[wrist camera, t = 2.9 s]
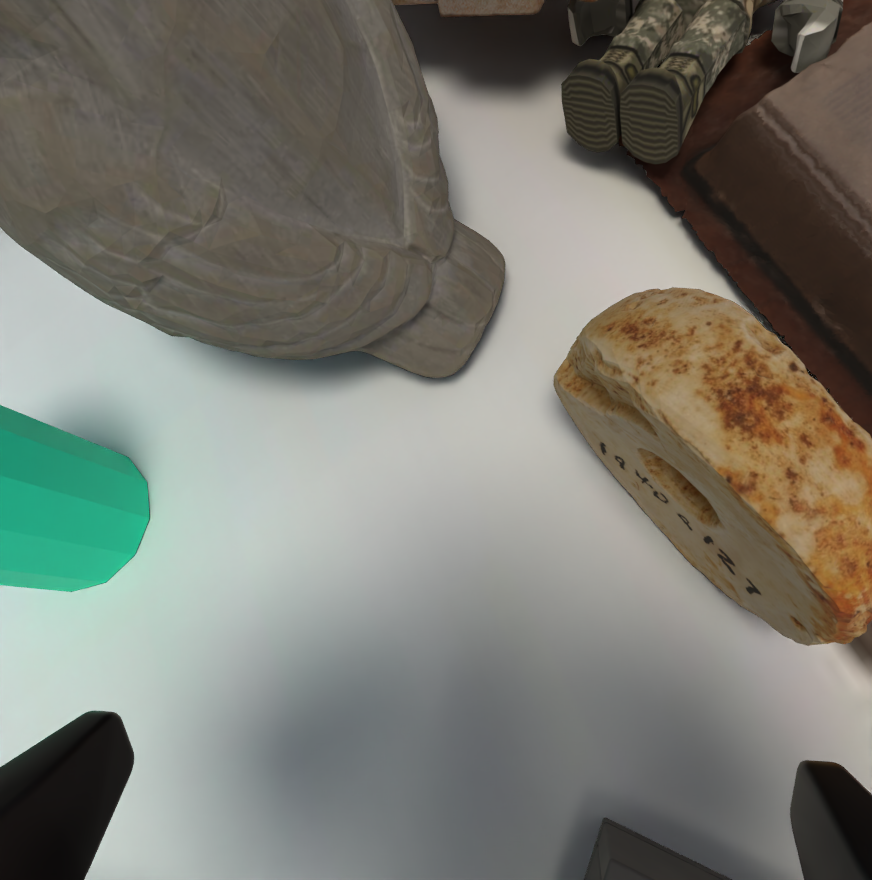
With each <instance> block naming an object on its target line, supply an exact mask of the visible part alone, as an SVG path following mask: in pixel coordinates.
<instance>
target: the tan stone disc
mask: <svg viewBox="0 0 872 880" xmlns="http://www.w3.org/2000/svg"><path fill="white" fill-rule="evenodd" d="M554 387H555V390H556V393H557V395H558V396H559V398H560V400H561V402H562V404H563V405H564V407H565V409H566V410H567V412H568V413H569V415H570V416H571V418H572V420H573V421H574V423H575V424H576V426H577V427H578V429H579V430H580V432H581V433H582V435H583V436H584V438H585V439H586V440H587V442H588V443H589V445H590V446H591V448H592V449H593V450H594V452H595V453H596V454H597V456H598V457H599V458H600V460H601V461H602V462H603V463H604V464H605V466H606V467H607V468H608V469H609V470H610V472H611V473H612V474H613V475H614V477H615V478H616V479H617V480H618V481H619V483H620V484H621V485H622V486H623V487H624V488H625V489H626V490H627V491H628V492H629V493H630V494H631V495H632V497H633V498H634V499H635V501H636V502H637V503H638V505H639V506H640V507H641V508H642V510H643V511H644V512H645V513H646V514H647V515H648V516H649V517H650V519H651V520H652V521H653V522H654V523H655V524H656V525H657V526H658V527H659V528H660V530H661V531H662V532H663V533H664V534H665V535H666V536H667V537H668V538H669V539H670V540H671V541H672V543H673V544H674V545H675V547H676V548H677V549H678V550H679V551H680V552H681V553H682V554H683V556H684V557H685V558H686V559H687V560H688V561H689V562H690V563H691V564H692V565H693V566H694V567H695V568H696V569H698V570H699V571H701V572H702V573H703V574H704V575H705V576H706V577H707V578H708V579H709V580H710V581H711V582H712V583H713V584H714V585H715V586H717V587H718V588H719V589H720V590H721V591H722V592H724V593H725V594H726V595H727V596H728V597H730V598H731V599H733V600H735V601H736V602H737V603H738V604H739V605H740V606H741V607H743V608H745V609H746V610H748V611H750V612H752V613H754V614H755V615H757V616H758V617H760V618H762V619H763V620H764V621H766V622H767V623H768V624H769V625H770V626H771V627H772V628H774V629H775V630H776V631H778V632H779V633H780V634H782V635H783V636H785V637H787V638H790V639H792V640H794V641H795V642H796V643H800V644H804V645H808V646H809V645H816V644H829V643H831V642H837V643H841V644H846V643H849V642H852V640H853V639H854V637H859V636H860V635H862V634H863V633H865V632H866V631H867V624H868V623H870V621H871V620H872V438H871V436H870V434H869V433H868V432H866V431H865V430H864V429H863V428H862V427H861V426H860V425H858V424H856V423H855V422H853V420H852V419H851V418H850V417H849V416H848V415H847V414H846V413H845V412H844V411H843V410H842V408H841V407H840V406H839V405H838V404H837V403H836V402H835V400H834V399H833V398H832V397H831V395H830V394H829V393H828V392H827V391H826V389H825V388H824V387H823V386H822V384H821V383H820V382H818V381H817V380H815V379H814V378H813V377H811V376H810V375H809V374H808V372H807V370H806V368H805V365H804V364H803V363H802V362H801V361H800V359H799V358H798V357H797V356H796V355H795V354H794V353H793V352H792V351H791V349H790V348H788V347H787V346H785V345H784V344H782V342H781V341H780V340H779V338H778V337H777V336H776V334H774V333H772V332H770V331H768V330H766V329H765V328H764V327H763V326H762V325H761V323H760V322H759V321H758V320H757V319H756V318H755V317H754V316H753V315H751V314H750V313H749V312H747V311H746V310H745V309H744V308H742V307H741V306H739V305H738V304H736V303H735V302H733V301H730V300H727V299H724V298H722V297H720V296H718V295H714V294H711V293H708V292H705V291H703V290H700V289H687V288H674V287H672V288H670V289H666V290H660V289H651V290H646V291H644V292H640V293H634V294H632V295H630V296H628V297H626V298H624V299H622V300H621V301H619V302H617V303H616V304H614V305H612V306H611V307H609V308H608V309H606V310H605V311H603V312H602V313H600V314H599V315H598V316H596V317H595V318H593V319H592V320H591V321H590V322H589V323H588V324H587V325H586V326H585V327H584V328H583V330H582V332H581V333H580V335H579V336H578V337H577V340H576V341H575V343H574V344H573V345H572V347H571V350H570V351H569V353H568V355H567V358H566V359H565V360H564V362H563V363H562V365H561V366H560V367H559V369H558V370H557V372H556V374H555V375H554Z"/></svg>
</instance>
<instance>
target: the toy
mask: <svg viewBox="0 0 872 880" xmlns="http://www.w3.org/2000/svg"><path fill="white" fill-rule="evenodd" d="M775 1H777V0H599V1H595V2H582V1H578V0H570V1H569V4H568V15H569V25H570V31H571V37H572V42H573V43H575V44H576V45H578V46H581V45H583V44H584V43H585V42H586V40H587V39H588V38H589V37H591V36H597V35H603V34H605V35H609V36H615V37H614V38H613V40H612V42H611V44H610V46H609V47H608V49H607V51H606V53H605V54H604V56H603V57H602V58H601V59H600V60H595V59H588V60H585V61H582V62H579V63H578V65H577V66H576V67H575V68H574V70H573V71H572V72H571V73H570V75H569V76H568V77H567V78H566V79H565V81H564V82H563V83H562V84H561V85H562V104H563V110H564V116H565V122H566V128H567V133H568V134H569V135H570V136H571V137H572V138H573V139H574V140H575V141H576V142H577V143H578V144H579V145H581V146H582V147H584V148H586V149H588V150H591V151H595V152H602V151H608V150H609V149H611V148H612V147H613V146H614V145H615V144H616V143H617V142H618V140H619V138H620V136H621V134H622V143H623V145H624V146H625V147H626V148H627V149H628V150H629V151H630V152H631V154H632V155H633V156H635V157H637V158H639V159H640V160H642V161H644V162H647V163H652V164H660V163H666V162H667V161H669V160H670V159H672V158H673V157H675V156H676V155H678V152H679V150H680V148H681V146H682V144H683V142H684V139H685V137H686V135H687V133H688V131H689V129H690V126H691V124H692V122H693V120H694V118H695V116H696V114H697V112H698V109H699V107H700V105H701V103H702V101H703V99H704V96H705V94H706V93H707V92H708V90H709V89H710V88H711V86H712V85H713V83H714V81H715V79H716V77H717V75H718V74H719V73H720V71H721V70H722V69H723V68H724V66H725V65H726V64H727V63H728V61H729V60H730V59H731V58H732V56H733V55H735V54H739V53H742V52H743V50H744V48H745V46H746V44H747V43H748V39H749V36H750V32H751V27H752V16H753V13H754V12H755V11H756V10H757V9H758V8H759V7H762V6H764V5H767V4H770V3H772V2H775ZM842 11H843V0H784V1H783V2H782V3H781V4H780V5H779V7H778V8H777V9H776V10H775V18H774V25H773V33H772V40H771V41H772V42H773V44H774V45H775V46H776V48H777V49H778V51H780V52H782V53H784V54H787V55H789V56H794V58H793V61H792V65H791V70H792V71H793V72H795V73H799V72H801V71H803V70H805V69H806V68H807V67H808V66H809V65H811V64H813V63H816V62H819V61H821V60H823V59H825V58H827V55H828V53H829V50H830V47H831V45H832V44H833V43H834V42H836V38H837V34H838V29H839V25H840V20H841V15H842ZM616 35H617V36H616ZM666 55H667V56H666ZM665 56H666V57H665ZM664 58H665V59H664ZM663 59H664V61H663V63H662V64H661V66H660V67H659V68H656V67H657V66H658V65H659V64H660V62H661V61H662V60H663Z"/></svg>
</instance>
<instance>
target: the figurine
mask: <svg viewBox="0 0 872 880" xmlns="http://www.w3.org/2000/svg"><path fill="white" fill-rule="evenodd" d="M438 132H439V131H438V122H437V116H436V113H435V110H434V107H433V103H432V100H431V98H430V96H429V94H428V91H427V88H426V85H425V82H424V79H423V76H422V73H421V70H420V67H419V63H418V60H417V57H416V54H415V50H414V46H413V44H412V41H411V39H410V37H409V35H408V33H407V31H406V29H405V27H404V25H403V23H402V21H401V19H400V17H399V15H398V12H397V10H396V8H395V6H394V4H393V2H392V0H0V227H1V228H2V229H3V230H4V231H5V233H6V234H7V235H9V236H10V237H11V238H12V239H13V240H14V241H16V242H17V243H18V244H19V245H20V246H21V247H23V248H24V249H26V250H27V251H28V252H30V253H31V254H33V255H34V256H35V257H37V258H38V259H40V260H41V261H42V262H44V263H45V264H47V265H48V266H49V267H51V268H52V269H54V270H55V271H56V272H58V273H59V274H61V275H62V276H63V277H65V278H66V279H68V280H69V281H71V282H72V283H74V284H75V285H77V286H78V287H80V288H81V289H83V290H84V291H86V292H87V293H89V294H91V295H92V296H94V297H95V298H97V299H99V300H100V301H102V302H104V303H105V304H107V305H110V306H112V307H114V308H116V309H118V310H120V311H122V312H124V313H127V314H129V315H131V316H133V317H135V318H137V319H139V320H142V321H144V322H146V323H148V324H150V325H151V326H153V327H155V328H157V329H159V330H161V331H163V332H165V333H167V334H169V335H171V336H178V337H190V338H192V339H195V340H197V341H200V342H202V343H205V344H209V345H213V346H216V347H220V348H224V349H227V350H231V351H238V352H242V353H246V354H249V355H253V356H256V357H266V358H278V359H289V360H303V359H317V358H322V357H327V356H331V355H336V354H341V353H345V352H349V351H362V352H365V353H368V354H371V355H373V356H375V357H378V358H380V359H382V360H384V361H387V362H389V363H391V364H394V365H396V366H398V367H401V368H403V369H405V370H408V371H410V372H412V373H415V374H418V375H422V376H425V377H431V378H440V377H447V376H450V375H453V374H454V373H456V372H457V371H458V370H459V369H460V368H461V367H462V366H463V365H464V364H465V363H466V362H467V360H468V359H469V357H470V355H471V353H472V352H473V350H474V348H475V347H476V345H477V344H478V342H479V341H480V339H481V336H482V333H483V331H484V328H485V327H486V325H487V324H488V322H489V320H490V318H491V316H492V314H493V312H494V310H495V307H496V305H497V303H498V300H499V297H500V293H501V290H502V286H503V283H504V275H505V261H504V257H503V255H502V254H501V253H500V251H499V250H498V249H497V248H496V247H495V246H494V245H493V244H492V243H491V242H490V241H489V240H487V239H486V238H484V237H483V236H481V235H480V234H479V233H477V232H475V231H474V230H472V229H470V228H469V227H467V226H465V225H463V224H462V223H460V222H458V221H457V220H455V219H454V218H453V215H452V212H451V208H450V205H449V201H448V180H447V176H446V173H445V169H444V166H443V164H442V161H441V158H440V155H439V141H438Z"/></svg>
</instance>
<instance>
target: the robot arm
mask: <svg viewBox="0 0 872 880" xmlns="http://www.w3.org/2000/svg"><path fill="white" fill-rule="evenodd" d="M133 764H134V752H133V749H132V746H131V743H130V741H129V738H128V735H127V732H126V730H125V727H124V724H123V722H122V719H121V717H120V716H119V715H118V714H117V713H115V712H106V711H90V712H87V713H85V714H83V715H81V716H80V717H78V718H76V719H75V720H73V721H72V722H70V723H69V724H67V725H65V726H64V727H62V728H61V729H59V730H58V731H56V732H55V733H53V734H51V735H50V736H48V737H47V738H45V739H44V740H42V741H41V742H39V743H37V744H36V745H34V746H33V747H31V748H30V749H28V750H27V751H25V752H23V753H22V754H20V755H19V756H17V757H16V758H14V759H12V760H11V761H9V762H8V763H6V764H5V765H3V766H2V767H0V880H84V879H85V876H86V874H87V872H88V870H89V868H90V866H91V864H92V861H93V859H94V857H95V854H96V852H97V850H98V847H99V845H100V843H101V841H102V838H103V836H104V834H105V831H106V829H107V827H108V825H109V822H110V820H111V818H112V815H113V813H114V811H115V808H116V806H117V804H118V802H119V799H120V797H121V795H122V792H123V790H124V788H125V786H126V783H127V781H128V779H129V776H130V774H131V771H132V768H133ZM790 817H791V826H792V831H793V835H794V839H795V843H796V847H797V851H798V856H799V860H800V864H801V868H802V872H803V876H804V880H872V794H871V793H870V792H869V791H868V790H867V789H866V788H865V787H863V786H862V785H861V784H860V783H859V782H858V781H857V780H856V779H855V778H854V777H853V776H852V775H851V774H850V773H849V772H848V771H847V770H846V769H845V768H844V767H842V766H841V765H839V764H837V763H834V762H824V761H809V760H805V761H802V762H801V763H800V764H799V766H798V768H797V773H796V779H795V784H794V790H793V795H792V801H791V807H790Z"/></svg>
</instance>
